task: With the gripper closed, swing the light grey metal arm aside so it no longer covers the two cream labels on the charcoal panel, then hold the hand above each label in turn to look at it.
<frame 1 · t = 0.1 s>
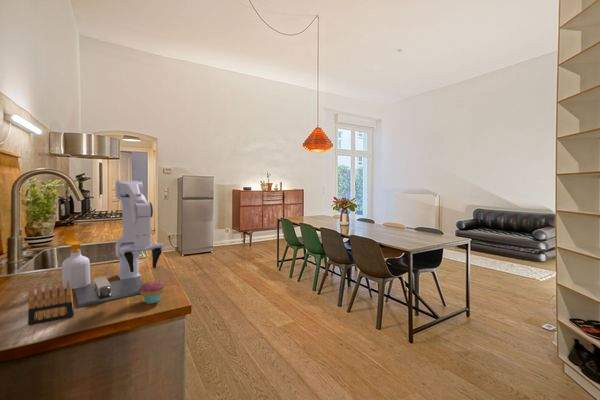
hand: (143, 269, 109), 10 cm above the counter, tool pointing down, fingers open, 7 cm apart
soap bottle: (76, 286, 118), on the counter
ammunition clip: (51, 320, 89), on the counter
cable arm: (102, 285, 110), point 3 cm above the counter, hinge at 0.0°
cupcake: (152, 301, 105), on the counter
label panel: (111, 291, 112), on the counter
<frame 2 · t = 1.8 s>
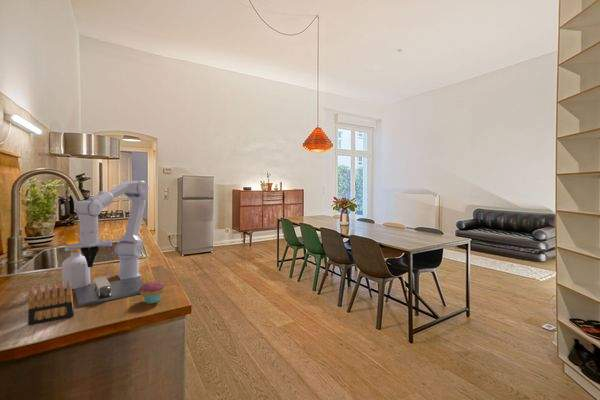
hand: (90, 266, 110), 10 cm above the counter, tool pointing down, fingers closed
nothing on the counter moved.
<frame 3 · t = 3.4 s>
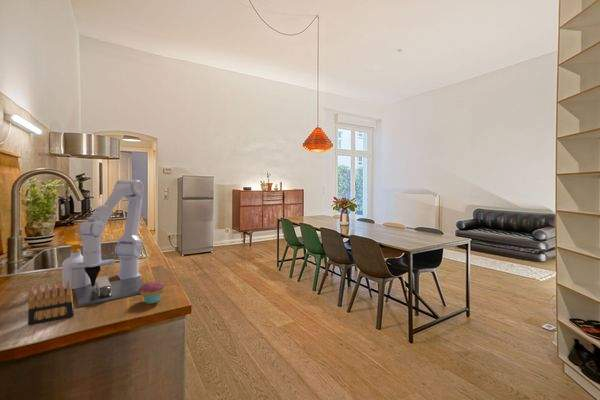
hand: (93, 285, 112), 2 cm above the counter, tool pointing down, fingers closed
cable arm: (103, 285, 110), point 3 cm above the counter, hinge at 1.5°, touching gripper
everything else where it was.
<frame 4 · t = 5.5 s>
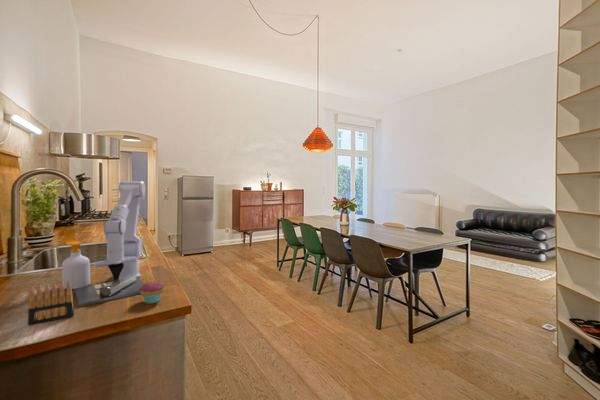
hand: (116, 282, 116), 2 cm above the counter, tool pointing down, fingers closed
cable arm: (117, 284, 112), point 3 cm above the counter, hinge at 41.4°, touching gripper
everything else where it was.
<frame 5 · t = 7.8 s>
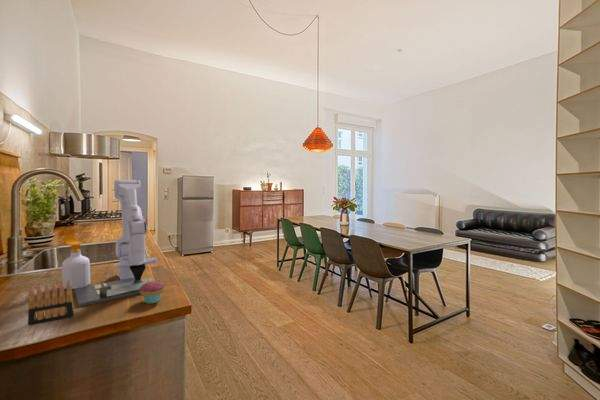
hand: (137, 283, 115), 2 cm above the counter, tool pointing down, fingers closed, pressing on cable arm
cable arm: (127, 286, 110), point 3 cm above the counter, hinge at 86.3°, touching gripper
everything else where it was.
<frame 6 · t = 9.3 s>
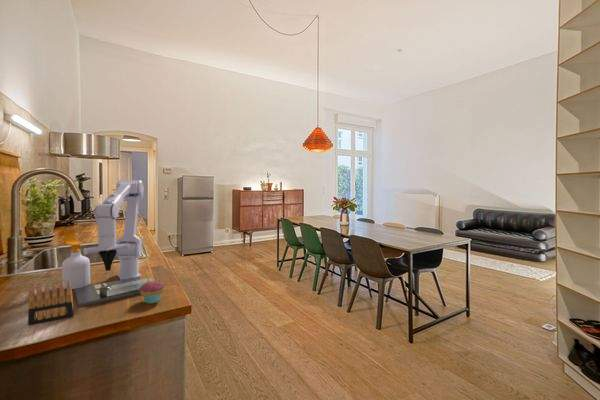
hand: (107, 269, 109), 9 cm above the counter, tool pointing down, fingers closed
cable arm: (127, 286, 110), point 3 cm above the counter, hinge at 86.4°
everything else where it was.
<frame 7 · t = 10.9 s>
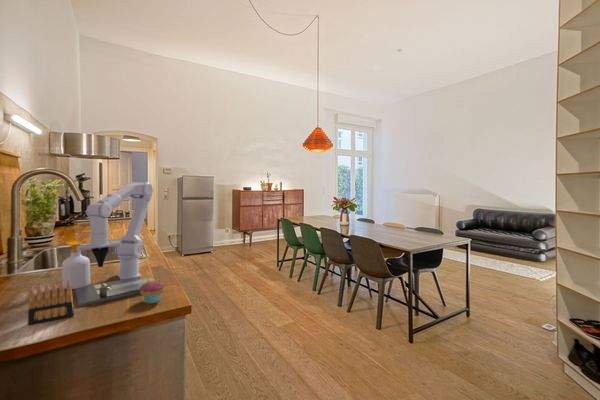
hand: (100, 266, 114), 9 cm above the counter, tool pointing down, fingers closed
nothing on the counter moved.
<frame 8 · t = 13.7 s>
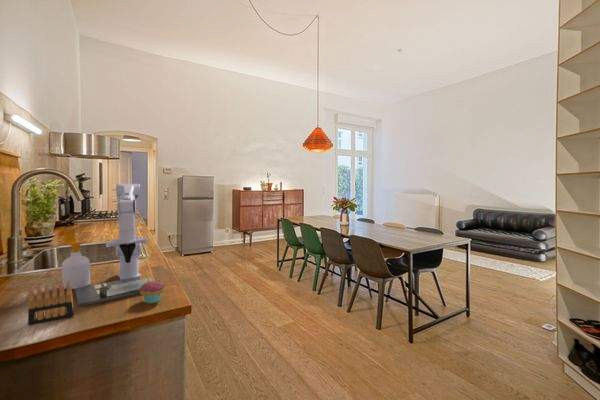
hand: (127, 262, 117), 10 cm above the counter, tool pointing down, fingers closed
nothing on the counter moved.
at the end: cable arm at +86° (first picture: +0°); soap bottle moved 0.2 cm from its start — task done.
